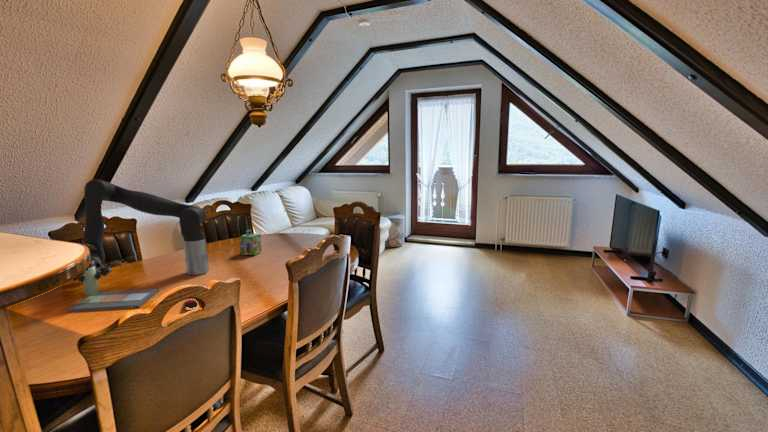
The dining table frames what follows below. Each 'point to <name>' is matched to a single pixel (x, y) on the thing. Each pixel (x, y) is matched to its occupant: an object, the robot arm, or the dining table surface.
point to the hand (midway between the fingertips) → (89, 278)
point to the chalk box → (250, 243)
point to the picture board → (114, 300)
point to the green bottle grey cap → (90, 280)
